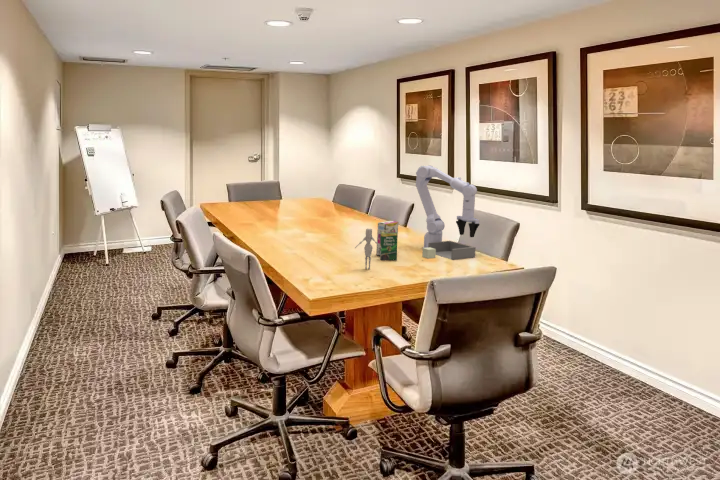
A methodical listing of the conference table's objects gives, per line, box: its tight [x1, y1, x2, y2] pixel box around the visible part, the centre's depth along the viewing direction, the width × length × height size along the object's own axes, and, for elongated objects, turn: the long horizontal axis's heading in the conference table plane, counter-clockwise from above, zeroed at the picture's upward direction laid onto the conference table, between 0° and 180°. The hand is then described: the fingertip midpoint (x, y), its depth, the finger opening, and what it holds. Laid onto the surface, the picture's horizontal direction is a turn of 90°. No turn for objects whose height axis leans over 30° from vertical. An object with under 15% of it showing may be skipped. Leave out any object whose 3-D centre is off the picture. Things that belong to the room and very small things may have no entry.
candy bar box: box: [375, 220, 399, 257], centre depth 275 cm, size 11×5×16 cm, turn 141°
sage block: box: [422, 247, 437, 259], centre depth 270 cm, size 4×4×5 cm
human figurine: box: [354, 228, 381, 270], centre depth 243 cm, size 12×4×18 cm, turn 96°
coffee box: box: [379, 232, 398, 261], centre depth 263 cm, size 8×3×13 cm, turn 92°
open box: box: [428, 240, 476, 261], centre depth 277 cm, size 19×14×6 cm
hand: (466, 235), depth 281 cm, fingers open, 7 cm apart
